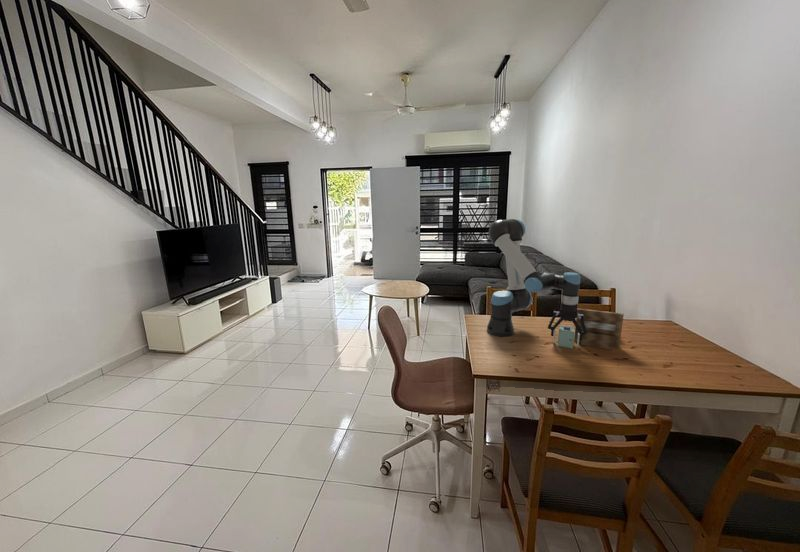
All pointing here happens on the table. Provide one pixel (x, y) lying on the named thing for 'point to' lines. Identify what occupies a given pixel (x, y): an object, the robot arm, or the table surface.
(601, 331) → the wall board
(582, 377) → the table surface
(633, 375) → the table surface
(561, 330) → the cabinet
